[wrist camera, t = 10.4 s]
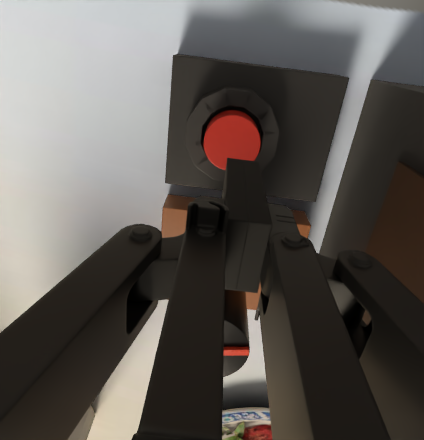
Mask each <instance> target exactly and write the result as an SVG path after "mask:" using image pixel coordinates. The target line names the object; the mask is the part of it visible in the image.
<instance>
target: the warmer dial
mask: <svg viewBox="0 0 424 440" xmlns="http://www.w3.org/2000/svg"><path fill="white" fill-rule="evenodd" d="M249 350H250V347H249V333H248V319H247V306H246V292H243V291H235V290H227V289H225V306H224V358H223V377H225V376H228V375H230V374H232V373H234V372H236V371H237V370H239V369H240V368H241V367H242V366H243V365H244V363H245V362H246V360H247V358H248V356H249Z"/></svg>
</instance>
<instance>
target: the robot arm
mask: <svg viewBox="0 0 424 440" xmlns="http://www.w3.org/2000/svg"><path fill="white" fill-rule="evenodd" d="M259 284H261V293H260V297H259V302H258V306H257V311H256V315H255V320H258V317H259V315H260V323H261V332H262V342H263V352H264V362H265V371H266V381H267V391H268V401H269V410H270V420H271V430H272V440H424V304H423V303H422V302H421V301H420V300H419V299H418V298H417V297H416V296H415V295H414V294H413V293H412V292H411V291H410V290H409V289H408V288H407V287H405V286H404V285H403V284H402V283H401V282H400V281H399V280H398V279H397V278H396V277H395V276H394V275H393V274H392V273H391V272H390V271H389V270H388V269H387V268H386V267H384V266H383V265H382V264H381V263H380V262H379V261H378V260H377V259H375V258H374V257H373V256H371V255H369V254H367V253H366V252H363V251H360V250H350V249H348V250H342V251H340V252H339V253H338V256H337V259H333V258H329V257H326V256H323V255H320V254H318V253H316V251H315V249H314V246H313V244H312V243H311V241H310V240H309V239H307V238H306V237H304V236H302V235H300V232H299V229H298V227H297V224H296V221H295V219H294V216H293V213H292V211H291V210H290V209H289V208H287V207H286V206H285V205H278V204H270V203H268V202H267V198H266V193H265V189H264V185H263V180H262V176H261V172H260V167H259V163H258V162H257V161H249V160H241V159H233V158H227V163H226V170H225V177H224V184H223V191H222V198H215V197H208V196H199V197H198V198H196V199H195V200H194V201H193V202H190V203H189V205H188V209H187V219H186V229H185V232H184V233H183V234H181V235H179V236H175V237H167V238H162V233H161V231H160V230H158V229H157V228H155V227H152V226H150V225H145V224H134V225H131V226H127V227H125V228H123V229H121V230H120V231H119V232H118V233H117V234H115V235H114V236H113V237H112V238H111V239H109V240H108V241H107V242H106V243H105V244H104V245H102V246H101V247H100V248H99V249H98V250H97V251H95V252H94V253H93V254H92V255H91V256H90V257H88V258H87V259H86V260H85V261H84V262H83V263H81V264H80V265H79V266H78V267H77V268H76V269H74V270H73V271H72V272H71V273H70V274H69V275H67V276H66V277H65V278H64V279H63V280H62V281H60V282H59V283H58V284H57V285H56V286H55V287H53V288H52V289H51V290H50V291H49V292H48V293H46V294H45V295H44V296H43V297H42V298H41V299H39V300H38V301H37V302H36V303H35V304H34V305H32V306H31V307H30V308H29V309H28V310H27V311H25V312H24V313H23V314H22V315H21V316H20V317H18V318H17V319H16V320H15V321H14V322H13V323H11V324H10V325H9V326H8V327H7V328H5V329H4V330H3V331H2V332H1V333H0V440H68V438H69V437H70V435H71V434H72V432H73V431H74V429H75V428H76V426H77V425H78V423H79V422H80V420H81V419H82V417H83V416H84V414H85V413H86V411H87V410H88V408H89V407H90V405H91V404H92V402H93V401H94V400H95V398H96V397H97V395H98V394H99V392H100V391H101V389H102V388H103V386H104V385H105V383H106V382H107V380H108V379H109V377H110V376H111V374H112V373H113V371H114V370H115V368H116V367H117V365H118V364H119V362H120V361H121V359H122V358H123V356H124V355H125V353H126V352H127V350H128V349H129V347H130V346H131V344H132V343H133V341H134V340H135V338H136V337H137V335H138V334H139V332H140V331H141V329H142V328H143V326H144V325H145V323H146V322H147V320H148V319H149V317H150V316H151V314H152V313H153V311H154V310H155V308H156V307H157V304H158V300H164V299H169V301H168V305H167V310H166V314H165V318H164V322H163V327H162V331H161V335H160V339H159V344H158V348H157V352H156V356H155V361H154V365H153V369H152V373H151V378H150V382H149V386H148V390H147V395H146V399H145V403H144V407H143V412H142V416H141V420H140V424H139V428H138V431H137V433H136V434H134V435H133V438H132V440H222V411H223V358H224V306H225V289H227V290H235V291H243V292H251V293H258V289H259ZM365 310H366V311H367V313H368V314H369V316H370V318H371V320H370V322H369V324H368V325H367V324H366V323H365V322H364V321H363V320H362V318H363V315H364V313H365Z"/></svg>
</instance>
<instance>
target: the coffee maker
mask: <svg viewBox="0 0 424 440" xmlns="http://www.w3.org/2000/svg"><path fill="white" fill-rule="evenodd" d="M348 249H350V250H360V251H363V252H366V253H367V254H369V255H371V256H373V257H374V258H375V259H377V260H378V261H379V262H380V263H381V264H382V265H383V266H384V267H386V268H387V269H388V270H389V271H390V272H391V273H392V274H393V275H394V276H395V277H396V278H397V279H398V280H399V281H400V282H401V283H402V284H403V285H404V286H405V287H407V288H408V289H409V290H410V291H411V292H412V293H413V294H414V295H415V296H416V297H417V298H418V299H419V300H420V301H421V302H422V303H423V304H424V86H417V85H409V84H402V83H394V82H386V81H379V80H371V82H370V85H369V88H368V92H367V95H366V98H365V102H364V105H363V109H362V112H361V115H360V119H359V122H358V125H357V129H356V132H355V135H354V139H353V142H352V145H351V149H350V152H349V155H348V159H347V162H346V165H345V169H344V172H343V175H342V179H341V182H340V185H339V189H338V192H337V195H336V199H335V202H334V206H333V209H332V212H331V216H330V219H329V222H328V226H327V229H326V232H325V236H324V239H323V242H322V246H321V249H320V252H319V254H320V255H323V256H326V257H329V258H333V259H337V256H338V253H339V252H340V251H342V250H348ZM362 320H363V321H364V322H365V323H366V324H367V325H368V324H369V322H370V320H371V318H370V316H369V314H368V313H367V311H366V310H365V313H364V315H363V318H362Z"/></svg>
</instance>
